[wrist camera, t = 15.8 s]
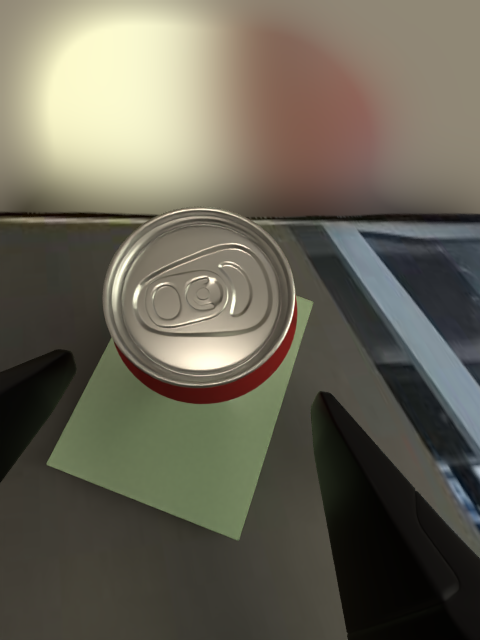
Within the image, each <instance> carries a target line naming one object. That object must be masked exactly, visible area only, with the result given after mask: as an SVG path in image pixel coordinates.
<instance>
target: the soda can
mask: <svg viewBox="0 0 480 640" xmlns="http://www.w3.org/2000/svg"><path fill="white" fill-rule="evenodd" d="M103 310H104V316H105V320H106V323H107V327H108V329H109V332H110V334H111V336H112V338H113V341H114V344H115V347H116V349H117V351H118V354H119V356H120V357H121V359H122V361H123V362H124V364H125V365H126V367H127V368H128V369H129V371H130V372H131V373H132V374H133V375H134V376H135V377H136V378H137V379H138V380H139V381H140V382H142V383H143V384H144V385H145V386H147V387H148V388H150V389H151V390H153V391H155V392H156V393H158V394H160V395H162V396H165V397H167V398H169V399H173V400H176V401H180V402H185V403H191V404H213V403H220V402H225V401H229V400H232V399H235V398H238V397H240V396H242V395H245V394H247V393H249V392H250V391H252V390H254V389H255V388H257V387H258V386H260V385H261V384H262V383H264V382H265V381H266V380H267V379H268V378H269V377H270V376H271V375H272V374H273V373H274V372H275V371H276V370H277V369H278V367H279V366H280V365H281V363H282V362H283V360H284V358H285V357H286V355H287V353H288V351H289V349H290V347H291V344H292V341H293V339H294V335H295V331H296V325H297V300H296V294H295V285H294V279H293V275H292V271H291V268H290V266H289V263H288V261H287V259H286V257H285V255H284V253H283V251H282V250H281V248H280V247H279V245H278V244H277V243H276V241H275V240H274V239H273V238H272V237H271V236H270V235H269V234H268V233H267V232H266V231H265V230H264V229H263V228H261V227H260V226H259V225H257V224H256V223H254V222H253V221H251V220H250V219H248V218H246V217H244V216H242V215H239V214H237V213H234V212H231V211H228V210H224V209H219V208H213V207H187V208H181V209H176V210H173V211H169V212H166V213H163V214H161V215H158V216H156V217H154V218H152V219H150V220H149V221H147V222H146V223H144V224H142V225H141V226H140V227H139V228H137V229H136V230H135V231H134V232H133V233H131V234H130V235H129V236H128V237H127V239H126V240H125V241H124V242H123V243H122V244H121V246H120V247H119V248H118V250H117V252H116V253H115V255H114V256H113V258H112V261H111V263H110V265H109V267H108V270H107V273H106V277H105V281H104V287H103Z"/></svg>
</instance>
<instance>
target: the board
mask: <svg viewBox="0 0 480 640" xmlns="http://www.w3.org/2000/svg"><path fill="white" fill-rule="evenodd" d="M296 300H297V325H296V331H295V335H294V339H293V341H292V344H291V347H290V349H289V351H288V353H287V355H286V357H285V358H284V360H283V362H282V363H281V365H280V366H279V367H278V369H277V370H276V371H275V372H274V373H273V374H272V375H271V376H270V377H269V378H268V379H267V380H266V381H265V382H264V383H262V384H261V385H260V386H258V387H257V388H255V389H254V390H252V391H250V392H249V393H247V394H245V395H242V396H240V397H238V398H235V399H232V400H229V401H225V402H220V403H213V404H191V403H185V402H180V401H176V400H173V399H169V398H167V397H165V396H162V395H160V394H158V393H156V392H155V391H153V390H151V389H150V388H148V387H147V386H145V385H144V384H143V383H142V382H140V381H139V380H138V379H137V378H136V377H135V376H134V375H133V374H132V373H131V372H130V371H129V369H128V368H127V367H126V365H125V364H124V362H123V361H122V359H121V357H120V356H119V354H118V351H117V349H116V347H115V344H114V341H113V338H111V340H110V342H109V344H108V346H107V347H106V349H105V351H104V353H103V355H102V357H101V359H100V361H99V363H98V365H97V367H96V369H95V371H94V373H93V375H92V377H91V378H90V380H89V382H88V384H87V386H86V388H85V390H84V392H83V394H82V396H81V398H80V400H79V402H78V404H77V406H76V408H75V409H74V411H73V413H72V415H71V417H70V419H69V421H68V423H67V425H66V427H65V429H64V431H63V433H62V435H61V437H60V439H59V440H58V442H57V444H56V446H55V448H54V450H53V452H52V454H51V456H50V458H49V460H48V462H47V464H46V465H48V466H51V467H53V468H56V469H58V470H61V471H63V472H66V473H69V474H71V475H74V476H76V477H79V478H81V479H84V480H86V481H89V482H91V483H94V484H96V485H99V486H101V487H104V488H106V489H109V490H111V491H114V492H116V493H119V494H121V495H124V496H126V497H129V498H132V499H134V500H137V501H139V502H142V503H144V504H147V505H149V506H152V507H154V508H157V509H159V510H162V511H164V512H167V513H169V514H172V515H174V516H177V517H179V518H182V519H184V520H187V521H189V522H192V523H195V524H197V525H200V526H202V527H205V528H207V529H210V530H212V531H215V532H217V533H220V534H222V535H225V536H227V537H230V538H232V539H235V540H237V541H239V538H240V535H241V532H242V529H243V526H244V522H245V519H246V516H247V513H248V510H249V506H250V503H251V500H252V497H253V494H254V490H255V487H256V484H257V481H258V478H259V474H260V471H261V468H262V465H263V462H264V458H265V455H266V452H267V449H268V446H269V442H270V439H271V436H272V433H273V430H274V426H275V423H276V420H277V417H278V414H279V410H280V407H281V404H282V401H283V398H284V394H285V391H286V388H287V385H288V382H289V378H290V375H291V372H292V369H293V366H294V362H295V359H296V356H297V353H298V350H299V346H300V343H301V340H302V337H303V334H304V330H305V327H306V324H307V321H308V318H309V314H310V311H311V308H312V305H313V302H312V301H309V300H307V299H304V298H301V297H299V296H296Z"/></svg>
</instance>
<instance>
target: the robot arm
mask: <svg viewBox="0 0 480 640" xmlns="http://www.w3.org/2000/svg"><path fill="white" fill-rule="evenodd" d="M75 373H76V364H75V360H74V357H73V354H72V352H71V351H68V350H61V349H58V350H54V351H52V352H50V353H47V354H45V355H42V356H40V357H37V358H35V359H32V360H30V361H27V362H25V363H22V364H20V365H18V366H15V367H13V368H10V369H8V370H5V371H3V372H0V482H1V481H2V480H3V478H4V477H5V476H6V474H7V473H8V472H9V470H10V469H11V468H12V466H13V465H14V464H15V462H16V461H17V459H18V458H19V457H20V455H21V454H22V453H23V451H24V450H25V449H26V447H27V446H28V445H29V443H30V442H31V441H32V439H33V438H34V437H35V435H36V434H37V432H38V431H39V430H40V428H41V427H42V426H43V424H44V423H45V422H46V420H47V419H48V417H49V416H50V415H51V413H52V412H53V410H54V409H55V407H56V405H57V404H58V402H59V400H60V399H61V397H62V395H63V394H64V392H65V390H66V389H67V387H68V385H69V384H70V382H71V380H72V379H73V377H74V375H75ZM311 421H312V435H313V447H314V456H315V462H316V467H317V473H318V478H319V484H320V489H321V494H322V500H323V505H324V511H325V516H326V522H327V527H328V533H329V538H330V543H331V549H332V554H333V560H334V565H335V571H336V576H337V582H338V587H339V592H340V598H341V603H342V609H343V614H344V620H345V625H346V630H347V633H348V635H347V637H348V640H480V558H479V557H478V556H477V555H476V554H475V553H474V552H473V551H472V550H471V549H470V548H469V547H468V546H467V545H466V544H465V543H464V542H463V541H462V540H461V538H460V537H459V536H458V535H457V534H456V533H455V532H454V531H453V530H452V529H451V528H450V527H449V526H448V525H447V524H446V523H445V521H444V520H443V519H442V518H441V517H440V516H439V515H438V514H437V513H436V512H435V510H434V509H433V508H432V507H431V506H430V505H429V504H428V503H427V502H426V500H425V499H424V498H423V497H422V496H421V495H420V494H419V492H417V491H415V488H414V487H413V486H412V485H411V484H410V482H409V481H408V480H407V479H406V478H405V477H404V476H403V474H402V473H401V472H400V471H399V470H398V469H397V468H396V467H395V465H394V464H393V463H392V462H391V461H390V460H389V459H388V457H387V456H386V455H385V454H384V453H383V452H382V451H381V450H380V448H379V447H378V446H377V445H376V444H375V443H374V442H373V440H372V439H371V438H370V437H369V436H368V435H367V434H366V432H365V431H364V430H363V429H362V428H361V427H360V426H359V425H358V423H357V422H356V421H355V420H354V419H353V418H352V417H351V415H350V414H349V413H348V412H347V411H346V410H345V409H344V408H343V406H342V405H341V404H340V403H339V402H338V401H337V400H336V398H335V397H334V396H333V395H332V394H331V393H328V392H322V391H320V392H318V393H317V395H316V397H315V399H314V401H313V403H312V406H311Z"/></svg>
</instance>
